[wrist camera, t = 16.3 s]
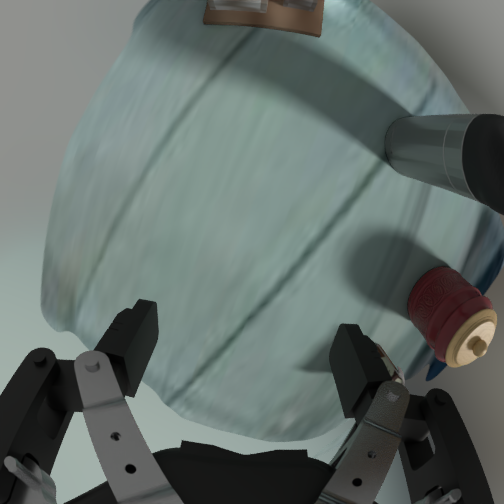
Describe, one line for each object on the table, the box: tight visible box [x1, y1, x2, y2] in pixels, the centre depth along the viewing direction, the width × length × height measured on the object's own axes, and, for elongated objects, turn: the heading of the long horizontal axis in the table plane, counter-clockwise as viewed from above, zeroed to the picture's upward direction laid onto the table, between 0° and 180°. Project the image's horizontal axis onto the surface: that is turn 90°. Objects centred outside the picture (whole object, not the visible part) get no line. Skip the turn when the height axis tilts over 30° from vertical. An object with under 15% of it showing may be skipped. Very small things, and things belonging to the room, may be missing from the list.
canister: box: [407, 266, 497, 367], centre depth 35 cm, size 13×13×18 cm
